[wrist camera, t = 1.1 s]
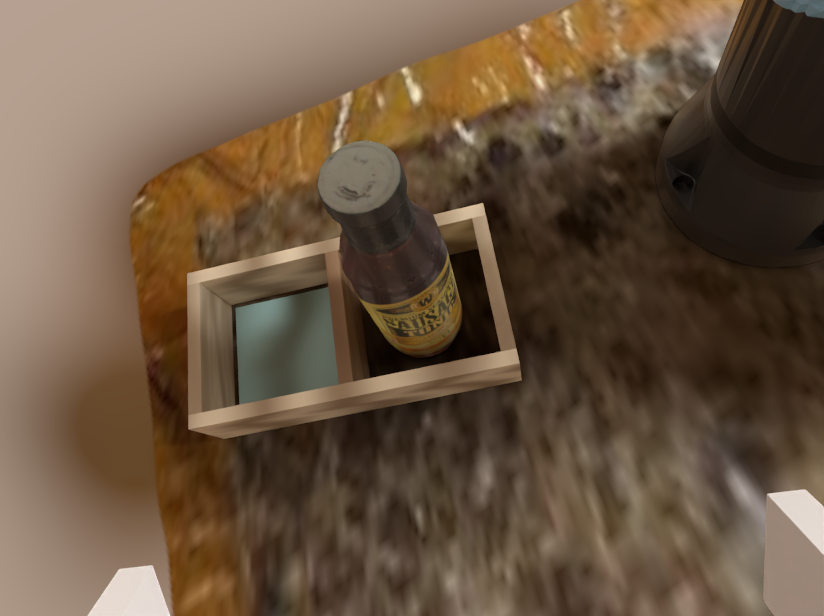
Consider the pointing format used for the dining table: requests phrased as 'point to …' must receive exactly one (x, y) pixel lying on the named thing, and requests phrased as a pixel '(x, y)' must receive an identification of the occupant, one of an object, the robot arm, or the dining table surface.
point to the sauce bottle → (391, 249)
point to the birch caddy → (317, 340)
